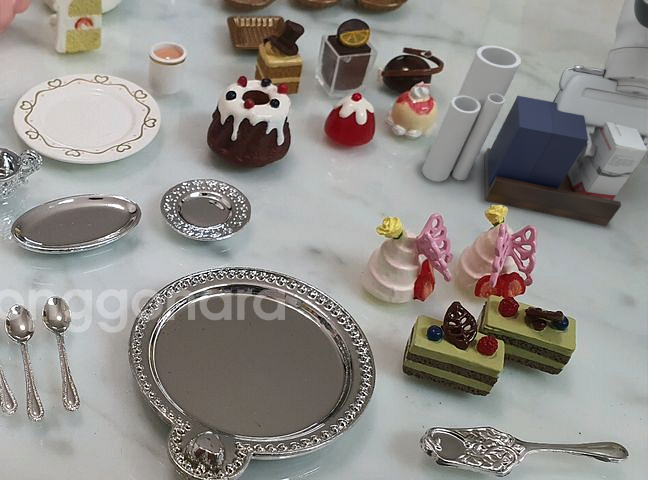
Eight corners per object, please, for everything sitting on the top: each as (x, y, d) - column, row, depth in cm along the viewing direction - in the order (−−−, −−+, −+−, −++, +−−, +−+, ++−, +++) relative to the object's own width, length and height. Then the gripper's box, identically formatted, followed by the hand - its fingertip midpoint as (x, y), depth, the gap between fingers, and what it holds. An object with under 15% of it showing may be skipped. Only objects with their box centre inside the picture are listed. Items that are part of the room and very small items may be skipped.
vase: (438, 142, 136) (482, 40, 121) (478, 156, 134) (528, 55, 118) (418, 175, 130) (462, 72, 115) (459, 191, 127) (510, 88, 112)
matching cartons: (548, 166, 130) (583, 107, 121) (551, 199, 124) (588, 140, 115) (487, 154, 132) (517, 95, 123) (488, 186, 126) (519, 126, 117)
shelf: (598, 177, 131) (612, 156, 127) (606, 226, 122) (621, 205, 119) (484, 154, 134) (494, 133, 131) (484, 200, 126) (495, 179, 122)
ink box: (608, 209, 123) (650, 151, 114) (577, 204, 123) (616, 146, 114) (595, 175, 128) (634, 117, 120) (566, 171, 129) (602, 113, 120)
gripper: (572, 57, 118) (547, 144, 119) (715, 82, 114) (688, 172, 116) (557, 68, 124) (533, 150, 125) (692, 92, 121) (666, 177, 122)
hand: (608, 161), depth 121 cm, fingers closed on ink box, 5 cm apart
